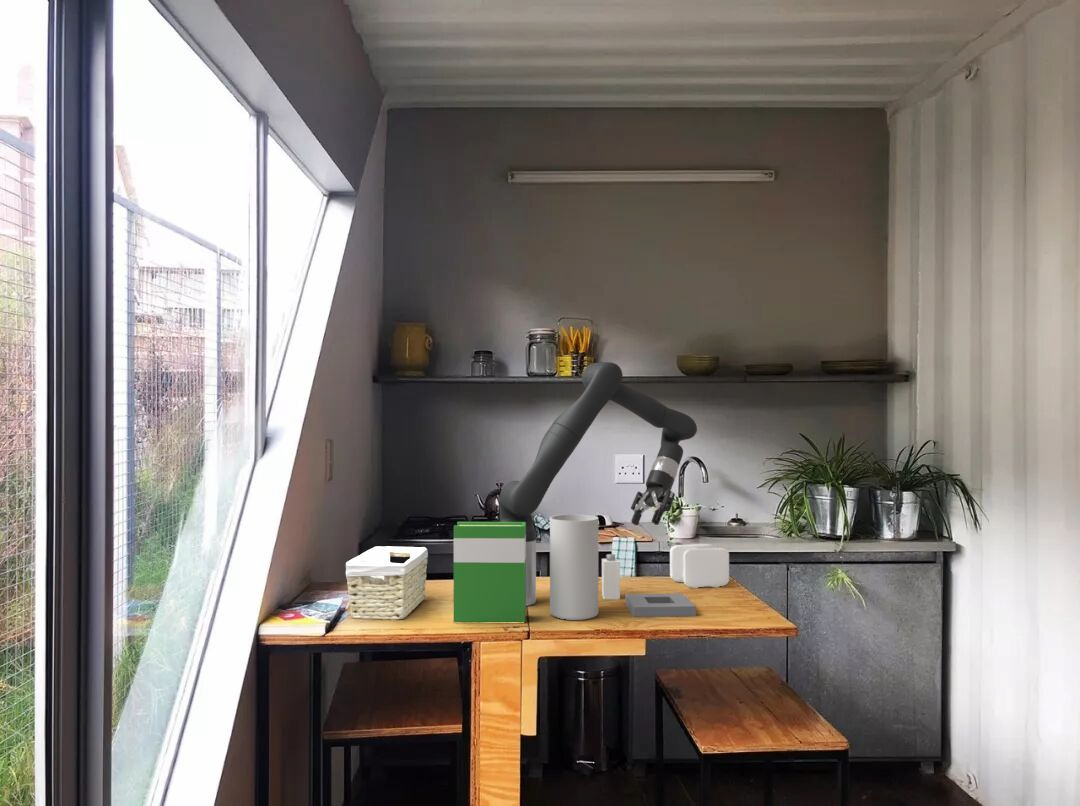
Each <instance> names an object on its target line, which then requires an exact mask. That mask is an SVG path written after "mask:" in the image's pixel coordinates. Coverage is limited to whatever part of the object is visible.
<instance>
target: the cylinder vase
mask: <svg viewBox="0 0 1080 806" xmlns="http://www.w3.org/2000/svg"><path fill="white" fill-rule="evenodd" d="M549 612H550V614H551V615H552V617H554V618H556V617H557V619H559V618H560V619H561V620H564V619H566V620H565V621H584V620H585V621H586V620H590V619H592V618H593V619H594V618H595V617H597V615H599V517H598V516H597V515H596V516H595V515H588V514H556V515H552V516H550V517H549Z"/></svg>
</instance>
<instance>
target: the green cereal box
mask: <svg viewBox="0 0 1080 806" xmlns="http://www.w3.org/2000/svg"><path fill="white" fill-rule="evenodd" d="M456 524H457V525H454V526H453V623H454V622H525V623H526V618H525V616H526V617H527V606H526V522H500V521H457V522H456Z"/></svg>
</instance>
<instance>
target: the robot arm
mask: <svg viewBox="0 0 1080 806" xmlns="http://www.w3.org/2000/svg"><path fill="white" fill-rule="evenodd" d="M623 377H624V375H623V371H622V368H621V367H620V366H619V365H618V364H616V363H614V362H611V361H610V362H609V361H602V362H601V361H600V362H593V363H591V364H589V365H587V366H586V367H585V368H584V370H583V372H582V375H581V381H582V384H583V386H584V388H585V390H584V391H583V393H582V394H581V395H580V397H579V398H578V399H577V400H576V401H574V402H573V403H572V404H571V405H570V406H569V407H567V408H566V409H565V410H563V412H561V414H559V415H558V416H557V417H556V418H555V420H554V421H553V422H552V423H551V425H550V427H549V428H548V429H547V431H546V432H545V434H544V435H543V438H542V439H541V441H540V445H539V447H538V451H537V454H536V456H535V460H534V461H533V463H532V465H531V467H530V468H529V470H528V471H527V472H526V474H525V475H524V476H523V478H522V479H521V480H511V481H509V482H506V483H505V485H503V487H502V488H501V491H500V494H499V505H498V507H499V508H498V509H499V522H526V607H529V606H531V605H534V604H536V603H537V532H536V529H535V527H534V525H533V522H532V514H533V513H534V512H536V511H537V509H538V507H539V506H540V504H542V503H541V502H542V501H543V499H544V497H545V495H546V494H547V492H548V490H549V488H550V486H551V484H552V482H553V481H554V479H555V477H556V476H557V475H558V473H559V472H560V470H561V469H562V468H563V467H564V465H565V464H566V462H567V460H568V459H569V458H570V456H571V455H572V454H573V452H574V451H575V449H576V448H577V447H578V445H579V443H580V442H581V441H582V439H583V437H584V436H585V434H586V433H587V431H588V429H590V427H591V426H592V424H593V423H594V422H595V419H596V418H597V417H598V415H599V414H600V412H601V411H602V409H604V408H605V406H606V405H607V403H608V402H609V401H612V402H614V403H615V404H617V405H619V406H620V407H622V408H625V409H626V410H628V411H629V412H631V413H633V414H634V415H636V416H637V417H638V418H641V419H642V420H643V421H645V422H647V423H648V424H650V425H652V426H653V427H655V428H658V429H662V431H661V436H660V437H661V438H660V448H659V450H658V453H657V456H656V457H655V458H656V459H655V460H654V462H653V463H652V465H651V469H650V471H649V473H648V477H647V479H646V480H645V481H646V482H645V487H646V489H645V491H644V492H643V493H642V492H641V491H637V492H636V495H635V497H634V499H633V501H632V503H631V507H630V510H632V511H633V515H632V518H631V520H630V521H631V522H630V523H631V524H632V525H634V526H638V525H639V524H640V522H641V521H640V520H641V518H642V514H644V512H645V511H647V510H650V509H651V508H653V507H655V508H656V510H654V513H653V515H652V518H651V523H652V524H654V525H655V526H657V525H659V523H660V522H661V520H662V517H663V515H664V514H665V512H668V513H669V512H670V511H671V509H672V505H673V501H674V499H675V496H676V493H674V492H673V491H672V488H673V486H674V483H675V480H676V477H677V474H678V471H679V470H678V469H679V467H680V464H681V461H682V458H683V455H684V449H683V447H682V446H681V445H680V444H679V443H680V442H681V441H685V440H690V439H692V438H693V437H695V435H696V434H697V432H698V426H697V423H696V422H695V420H694V419H693V418H692V417H691V416H690V415H688V414H686V413H684V412H682V411H678V410H676V409H673V408H669V406H666V405H665V404H663V403H661V401H659V400H657V399H656V398H654V397H652V396H650V395H648V394H646V393H644V392H641V391H639V390H637V389H635V388H632V387H630V386H628V385H626V384H625V383H623Z"/></svg>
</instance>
